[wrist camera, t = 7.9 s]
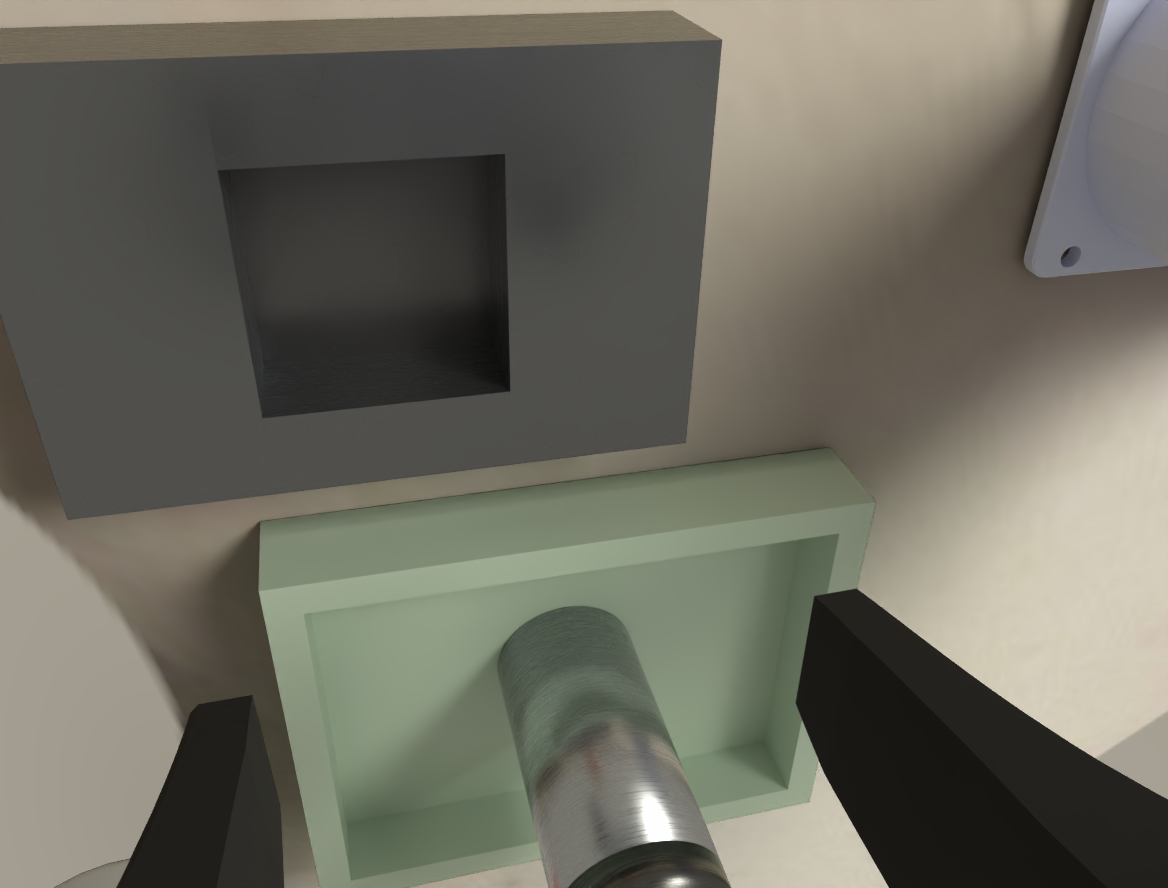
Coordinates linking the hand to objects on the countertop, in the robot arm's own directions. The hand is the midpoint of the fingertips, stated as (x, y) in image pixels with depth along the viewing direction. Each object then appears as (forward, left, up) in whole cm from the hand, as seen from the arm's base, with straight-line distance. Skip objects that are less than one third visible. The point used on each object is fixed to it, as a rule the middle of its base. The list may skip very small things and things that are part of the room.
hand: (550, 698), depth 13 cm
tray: (-3, +10, -10) cm, 15 cm away
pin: (-3, +10, -10) cm, 14 cm away
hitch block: (+1, -2, -10) cm, 11 cm away
